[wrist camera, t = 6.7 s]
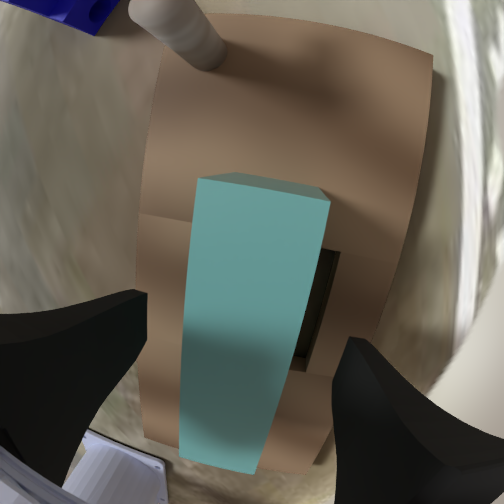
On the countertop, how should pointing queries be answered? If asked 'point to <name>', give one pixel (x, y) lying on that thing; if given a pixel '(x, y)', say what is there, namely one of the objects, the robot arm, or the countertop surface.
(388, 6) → the countertop surface
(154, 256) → the slotted wooden board
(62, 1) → the blue concave arch block
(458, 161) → the countertop surface
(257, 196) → the teal rectangular block
